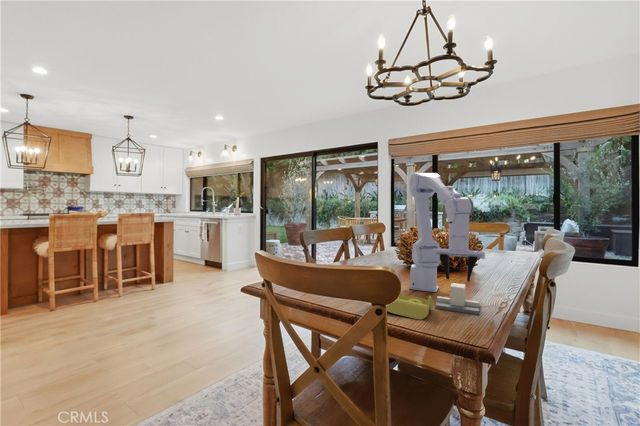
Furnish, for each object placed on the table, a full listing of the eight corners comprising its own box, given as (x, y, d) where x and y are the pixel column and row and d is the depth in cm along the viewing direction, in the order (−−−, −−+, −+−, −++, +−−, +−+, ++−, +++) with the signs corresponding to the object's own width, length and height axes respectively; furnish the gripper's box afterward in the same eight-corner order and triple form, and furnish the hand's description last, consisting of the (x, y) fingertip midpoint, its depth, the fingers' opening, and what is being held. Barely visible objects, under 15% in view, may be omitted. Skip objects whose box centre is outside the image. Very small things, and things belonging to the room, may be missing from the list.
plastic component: (434, 301, 95) (430, 294, 87) (430, 325, 93) (426, 321, 85) (372, 288, 105) (363, 280, 96) (367, 310, 102) (358, 304, 94)
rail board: (435, 308, 95) (435, 301, 95) (439, 299, 104) (439, 293, 104) (479, 314, 90) (479, 307, 90) (479, 304, 99) (479, 298, 99)
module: (450, 304, 96) (450, 286, 96) (451, 300, 100) (451, 282, 100) (464, 306, 94) (464, 288, 94) (465, 301, 98) (465, 284, 98)
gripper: (432, 236, 96) (431, 279, 97) (485, 238, 90) (484, 285, 90) (435, 234, 103) (434, 275, 103) (485, 236, 96) (484, 280, 96)
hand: (458, 279), depth 97 cm, fingers open, 5 cm apart
